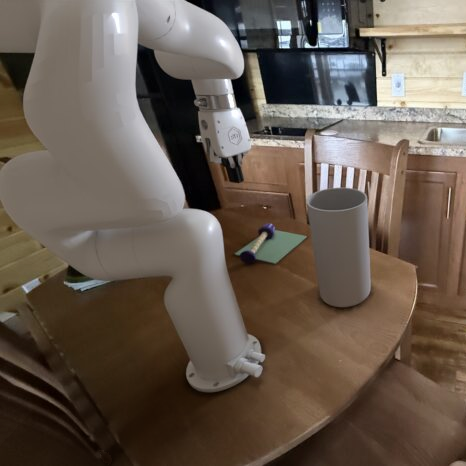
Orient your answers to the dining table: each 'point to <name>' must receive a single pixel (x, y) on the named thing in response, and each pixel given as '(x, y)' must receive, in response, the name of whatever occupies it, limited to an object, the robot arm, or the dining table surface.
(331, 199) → the cylinder vase
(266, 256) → the mat
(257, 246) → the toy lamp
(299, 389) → the dining table surface
